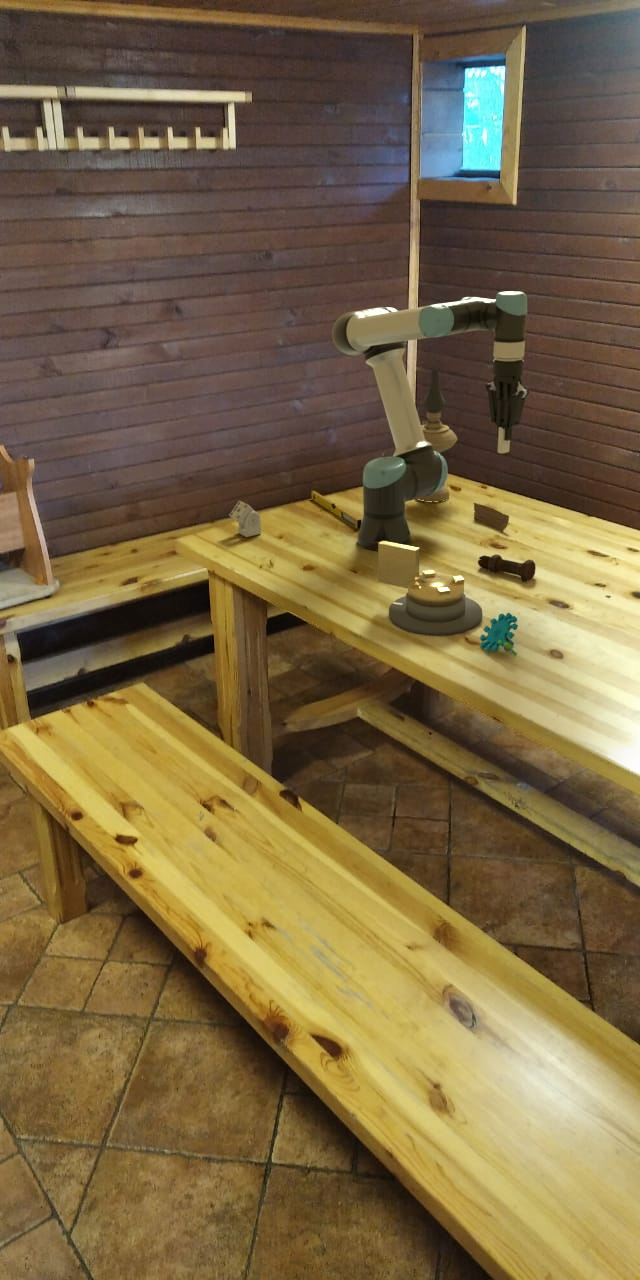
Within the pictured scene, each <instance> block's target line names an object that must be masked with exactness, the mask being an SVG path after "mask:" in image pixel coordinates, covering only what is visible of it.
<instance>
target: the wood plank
mask: <svg viewBox="0 0 640 1280" xmlns="http://www.w3.org/2000/svg"><path fill="white" fill-rule="evenodd" d="M473 510H474V512H473V519H475V520H478V521H480V522H482V521H483V523H485V524H487V525H489V526H491V527H493V528H494V529H497V530H498V531H499V532H501V533H504V531H505V529H507V526H508V524H509V520H510V515H508V514H506V513H504V512H503V513H502V511H499V510H497V509H494V508H492V507H489V506H486V505H483V504H479V503H477V502H473Z"/></svg>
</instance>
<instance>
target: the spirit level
mask: <svg viewBox="0 0 640 1280" xmlns="http://www.w3.org/2000/svg"><path fill="white" fill-rule="evenodd" d="M310 499H311V500H313V501H314V502H316V503H317V504H319V505H320V506H321V507H323V508H325V509H326V510H328V511H329V510H330V511H329V512H331V513H332V512H333V513H332V514H334V515H336V516H337V515H338V516H337V517H338V518H340V519H341V520H343V519H344V520H343V521H345V522H346V521H347V522H346V523H348V524H349V523H350V524H349V525H351V526H352V527H354V526H355V527H354V528H356V529H357V528H360V527H361V523H362V519H361V518H358V517H357V516H355V515H354V514H352V513H350V512H349V511H347V510H346V509H344V508H343V507H341V506H339V505H335V502H333V501H331V500H330V499H328V498H326V497H325V496H323V495H321V494H320V493H319V492H317V491H316V490H310ZM315 499H316V500H315Z"/></svg>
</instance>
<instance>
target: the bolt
mask: <svg viewBox="0 0 640 1280" xmlns="http://www.w3.org/2000/svg"><path fill="white" fill-rule="evenodd" d="M477 564H478V566H479V567H480V568H483V569H488V572H490V573H492V572H494V573H493V574H496V572H497V573H499V572H502V573H508V574H512V575H515V576H519V577H520V579H521V581H522V582H530V581H531V580H533V579H534V576H535V575H536V563H535V561H534V560H533V559H527V560H524V562H517V561H514V560H509V559H503V558H502V556H501V555H500V554H493V555H491V556H489V555H485V554H484V555H481V556H479V557H478V561H477ZM498 571H499V572H498Z"/></svg>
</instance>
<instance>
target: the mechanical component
mask: <svg viewBox="0 0 640 1280" xmlns="http://www.w3.org/2000/svg"><path fill="white" fill-rule="evenodd" d="M228 516H229V517H231V518H232V519H233V520H234V521H236V522H237V523H238V527H237V534H240V535H241V536H243V537H244V538H249V537H253V536H256V535H261V534H262V523H261V516H260V513H258V512H257V511H255V509H253V508H252V507H251V505H249V504H248V503H247V502H246V503H245V502H244V501H241V500H238V501H237V502H236V504H235V506H234V507H233V509H232V510H231V512H230V513H229V514H228Z"/></svg>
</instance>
